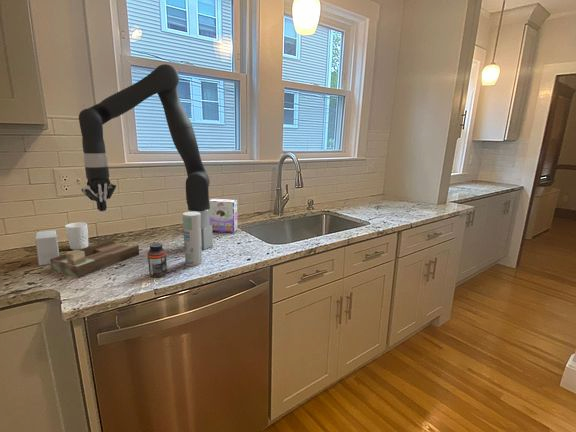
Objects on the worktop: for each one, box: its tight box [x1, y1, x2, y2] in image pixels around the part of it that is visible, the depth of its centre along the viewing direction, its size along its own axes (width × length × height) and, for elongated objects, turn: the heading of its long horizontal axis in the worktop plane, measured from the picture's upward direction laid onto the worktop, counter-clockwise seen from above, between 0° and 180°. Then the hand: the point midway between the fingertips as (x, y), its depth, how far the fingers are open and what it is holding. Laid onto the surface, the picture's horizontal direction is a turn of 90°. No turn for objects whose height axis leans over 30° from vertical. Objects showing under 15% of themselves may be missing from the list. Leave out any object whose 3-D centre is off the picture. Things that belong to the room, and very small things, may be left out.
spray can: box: [182, 211, 203, 267], centre depth 121 cm, size 6×6×20 cm
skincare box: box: [34, 229, 60, 266], centre depth 121 cm, size 10×6×10 cm, turn 35°
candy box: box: [209, 198, 238, 234], centre depth 164 cm, size 14×6×16 cm, turn 80°
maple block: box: [65, 249, 86, 266], centre depth 114 cm, size 4×4×4 cm
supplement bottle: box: [147, 242, 168, 278], centre depth 112 cm, size 6×6×11 cm
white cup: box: [64, 221, 90, 250], centre depth 135 cm, size 8×8×10 cm
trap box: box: [50, 239, 140, 279], centre depth 122 cm, size 15×25×4 cm, turn 155°
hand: (102, 210), depth 122 cm, fingers closed
